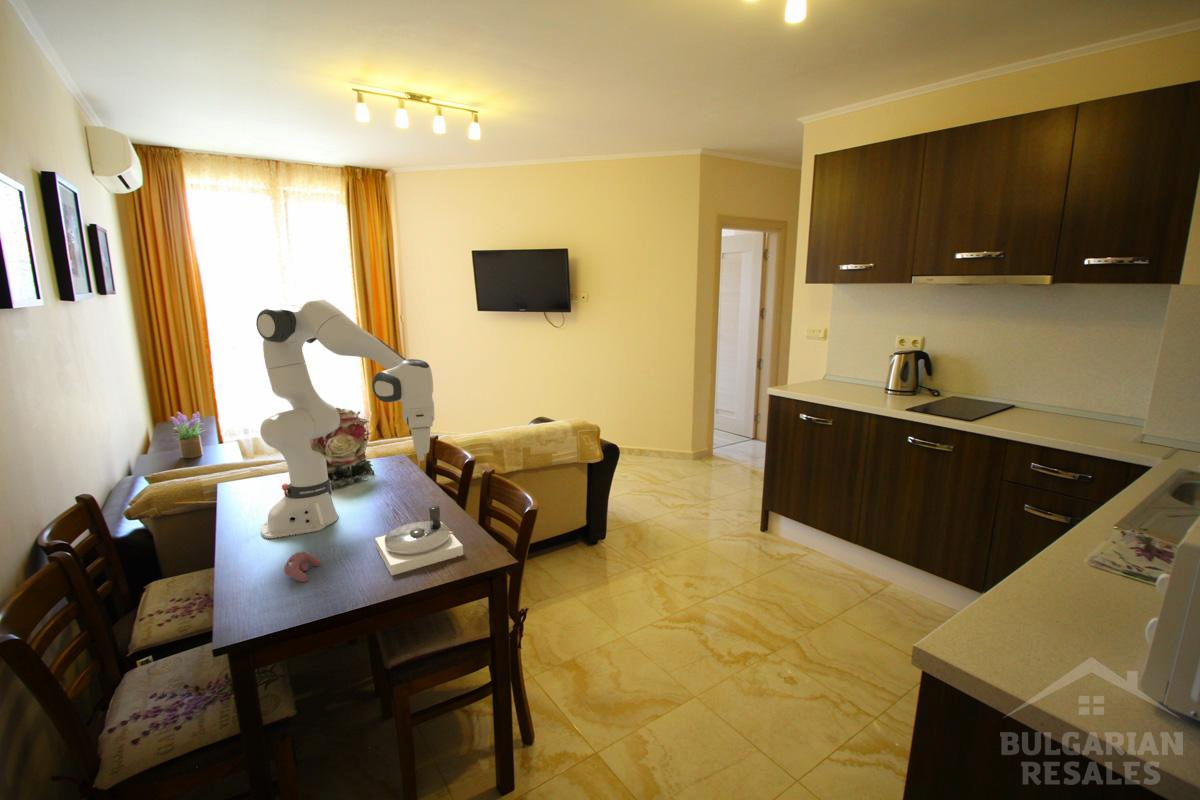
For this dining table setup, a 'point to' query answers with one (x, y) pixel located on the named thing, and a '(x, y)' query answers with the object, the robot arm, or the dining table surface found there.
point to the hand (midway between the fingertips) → (421, 459)
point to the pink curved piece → (300, 565)
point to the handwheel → (418, 536)
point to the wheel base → (411, 562)
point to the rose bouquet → (345, 451)
